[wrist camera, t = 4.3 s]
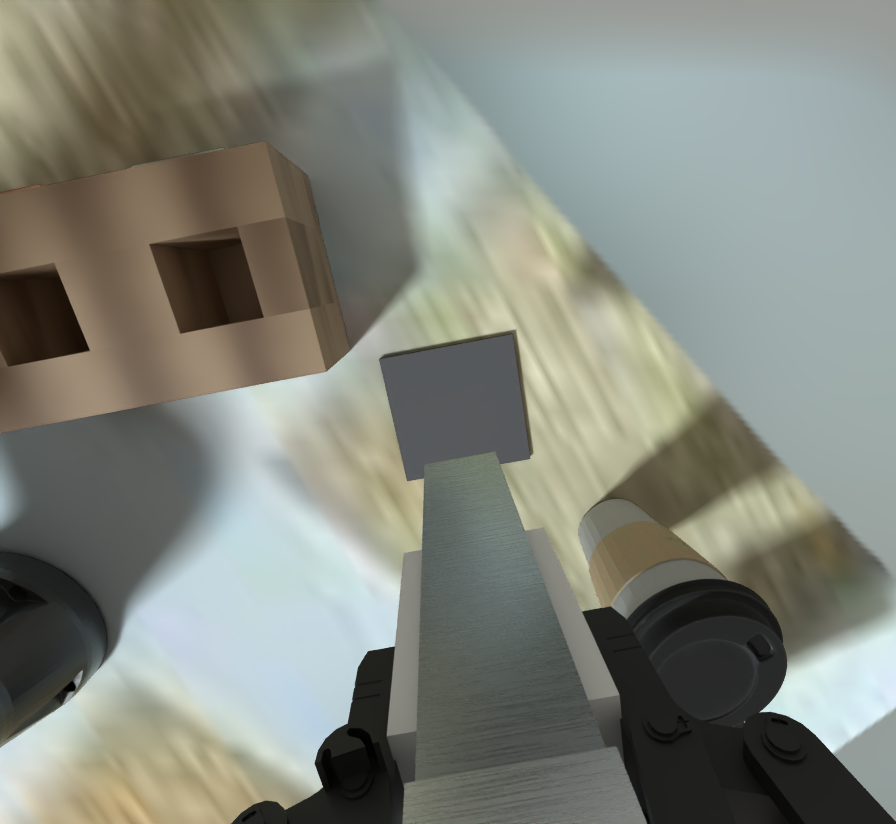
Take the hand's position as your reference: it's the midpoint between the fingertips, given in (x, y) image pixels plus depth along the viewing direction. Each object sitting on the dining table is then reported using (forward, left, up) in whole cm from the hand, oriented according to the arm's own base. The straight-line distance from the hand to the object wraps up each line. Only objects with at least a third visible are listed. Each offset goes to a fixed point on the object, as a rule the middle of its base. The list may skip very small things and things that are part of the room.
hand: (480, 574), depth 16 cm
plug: (0, 0, -7) cm, 7 cm away
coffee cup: (+11, -13, -21) cm, 27 cm away
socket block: (-17, +12, -21) cm, 29 cm away
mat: (0, 0, -21) cm, 21 cm away
